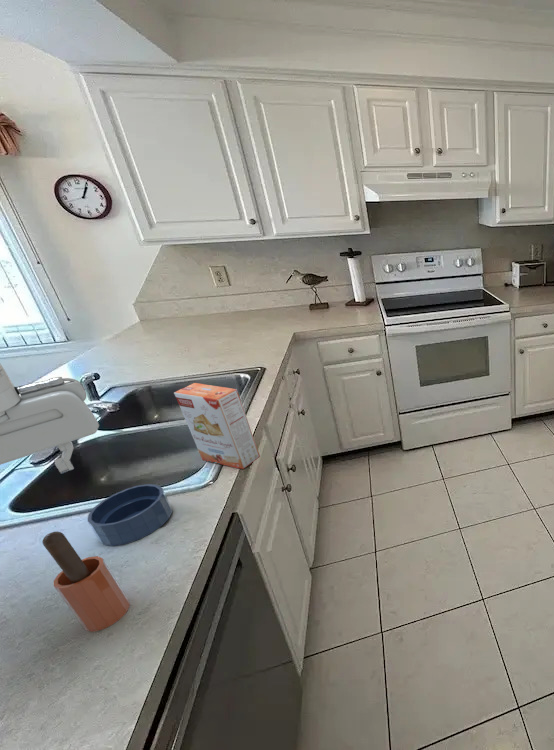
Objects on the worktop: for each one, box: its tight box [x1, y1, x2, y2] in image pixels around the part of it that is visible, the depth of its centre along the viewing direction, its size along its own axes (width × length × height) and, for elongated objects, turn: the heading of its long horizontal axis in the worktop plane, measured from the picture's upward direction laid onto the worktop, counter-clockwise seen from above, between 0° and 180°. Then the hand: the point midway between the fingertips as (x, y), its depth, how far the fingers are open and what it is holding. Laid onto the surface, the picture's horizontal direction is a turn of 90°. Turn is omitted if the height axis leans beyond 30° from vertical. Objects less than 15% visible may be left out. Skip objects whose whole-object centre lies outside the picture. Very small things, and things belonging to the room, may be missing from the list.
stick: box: [42, 531, 91, 584], centre depth 64 cm, size 2×2×20 cm
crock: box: [53, 555, 131, 633], centre depth 67 cm, size 6×6×11 cm
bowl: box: [87, 483, 173, 547], centre depth 87 cm, size 12×12×6 cm
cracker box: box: [173, 382, 261, 470], centre depth 104 cm, size 14×6×21 cm, turn 73°
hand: (21, 486), depth 57 cm, fingers open, 8 cm apart
